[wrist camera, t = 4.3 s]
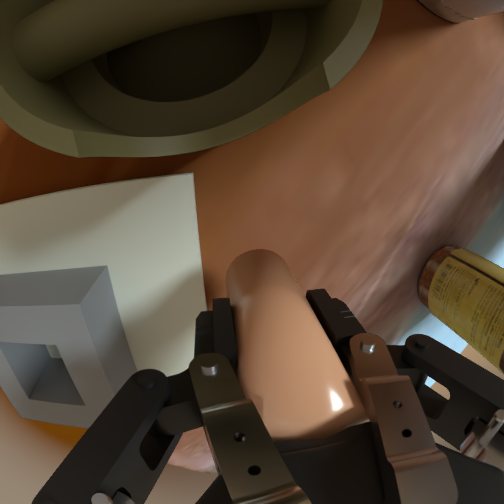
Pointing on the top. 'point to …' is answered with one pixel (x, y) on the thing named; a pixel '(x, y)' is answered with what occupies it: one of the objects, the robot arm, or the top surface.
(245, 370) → the peg
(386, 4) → the top surface
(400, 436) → the robot arm
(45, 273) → the socket
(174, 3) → the piston
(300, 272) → the top surface
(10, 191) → the top surface
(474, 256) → the sauce bottle
